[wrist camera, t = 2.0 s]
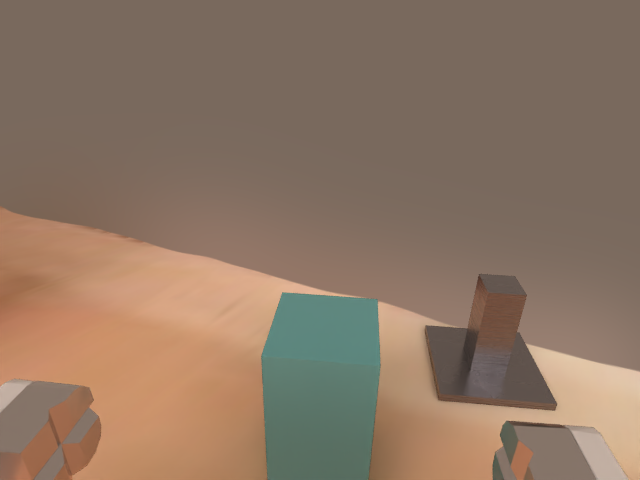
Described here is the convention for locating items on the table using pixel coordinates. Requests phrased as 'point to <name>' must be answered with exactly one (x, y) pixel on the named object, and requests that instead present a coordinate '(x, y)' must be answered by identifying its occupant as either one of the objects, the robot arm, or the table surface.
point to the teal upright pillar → (321, 387)
